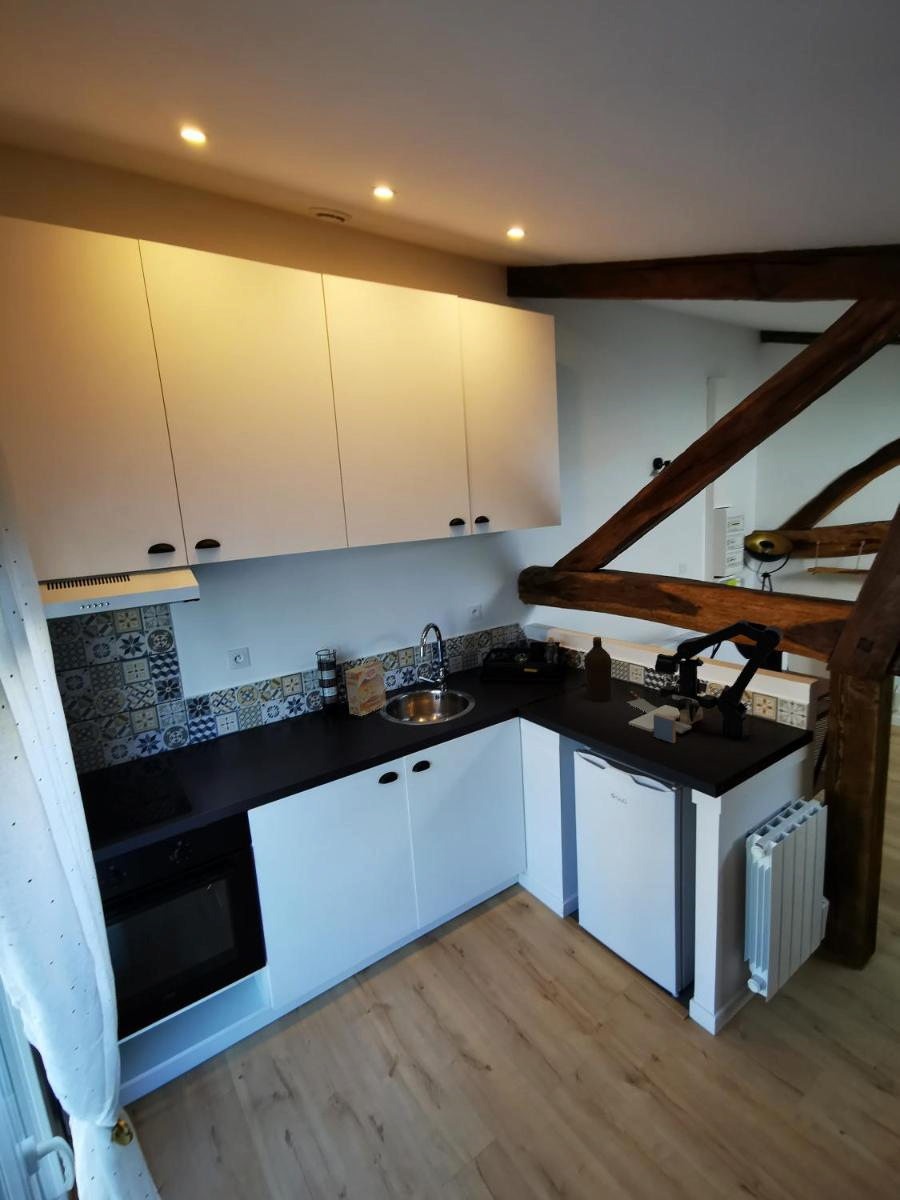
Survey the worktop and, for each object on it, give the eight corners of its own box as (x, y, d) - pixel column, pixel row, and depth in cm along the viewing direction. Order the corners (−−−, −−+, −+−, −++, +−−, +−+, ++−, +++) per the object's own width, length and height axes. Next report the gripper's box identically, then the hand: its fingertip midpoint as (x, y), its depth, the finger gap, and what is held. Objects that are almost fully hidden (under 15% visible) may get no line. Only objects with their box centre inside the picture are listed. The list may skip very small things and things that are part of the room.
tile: (675, 741, 182) (675, 718, 181) (672, 743, 181) (672, 720, 180) (656, 735, 188) (656, 713, 186) (653, 737, 187) (653, 714, 185)
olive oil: (617, 696, 225) (616, 636, 221) (603, 704, 218) (601, 642, 214) (595, 691, 233) (593, 633, 229) (580, 699, 226) (578, 639, 222)
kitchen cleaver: (614, 693, 228) (637, 689, 229) (614, 695, 228) (637, 691, 229) (639, 716, 204) (665, 711, 205) (639, 718, 204) (665, 714, 205)
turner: (691, 714, 199) (691, 701, 198) (707, 719, 194) (707, 705, 193) (665, 728, 190) (665, 714, 189) (681, 733, 185) (681, 719, 184)
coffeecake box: (361, 720, 223) (356, 673, 219) (349, 717, 227) (344, 670, 223) (387, 707, 234) (382, 662, 231) (375, 704, 239) (370, 660, 235)
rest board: (687, 713, 203) (687, 711, 203) (651, 731, 191) (651, 729, 191) (665, 707, 211) (665, 704, 210) (628, 724, 198) (628, 721, 198)
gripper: (727, 676, 186) (727, 720, 189) (676, 665, 201) (676, 706, 204) (709, 684, 180) (709, 730, 183) (658, 673, 195) (658, 715, 198)
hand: (688, 720), depth 192 cm, fingers closed on turner, 2 cm apart
